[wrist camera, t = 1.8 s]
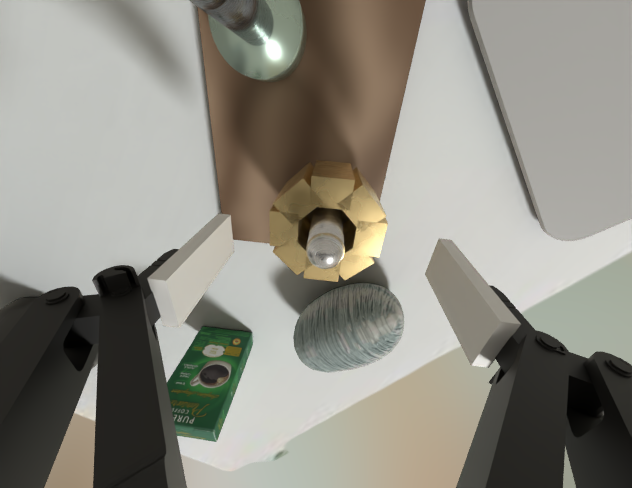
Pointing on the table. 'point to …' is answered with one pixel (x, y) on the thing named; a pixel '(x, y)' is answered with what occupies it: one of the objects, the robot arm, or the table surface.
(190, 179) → the table surface
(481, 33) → the tablet
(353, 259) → the tan boxy piece
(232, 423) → the table surface
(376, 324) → the grey marbled egg
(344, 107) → the walnut plate
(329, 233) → the stand rod
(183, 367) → the coffee box
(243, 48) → the metal peg stand
